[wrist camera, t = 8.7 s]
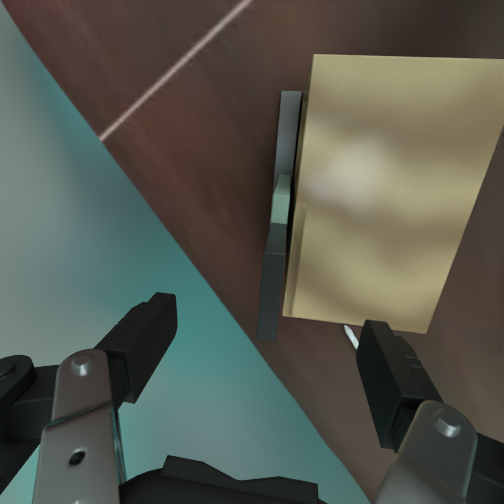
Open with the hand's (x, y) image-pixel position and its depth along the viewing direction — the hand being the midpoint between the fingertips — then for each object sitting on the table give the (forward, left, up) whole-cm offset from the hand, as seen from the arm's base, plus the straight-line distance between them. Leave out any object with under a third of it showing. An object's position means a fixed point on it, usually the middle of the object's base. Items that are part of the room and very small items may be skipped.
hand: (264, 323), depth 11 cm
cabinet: (-2, +7, -19) cm, 20 cm away
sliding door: (0, 0, -18) cm, 18 cm away
